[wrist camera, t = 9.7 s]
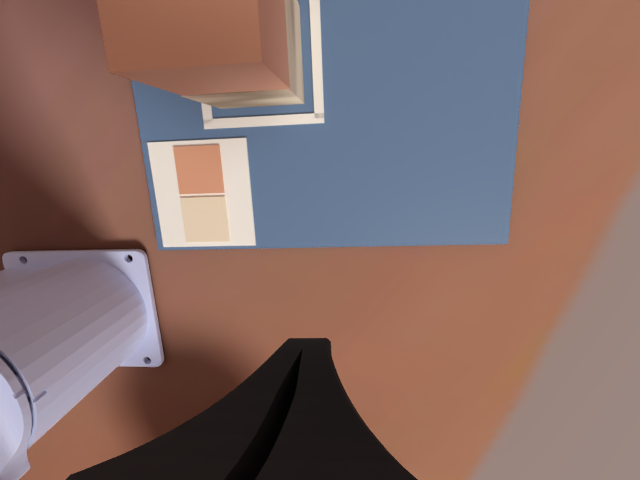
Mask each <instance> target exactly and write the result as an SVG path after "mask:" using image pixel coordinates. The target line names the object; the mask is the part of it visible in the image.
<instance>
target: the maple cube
mask: <svg viewBox="0 0 640 480" xmlns="http://www.w3.org/2000/svg"><path fill="white" fill-rule="evenodd" d="M285 14H286V31H287V47H288V64H289V81H290V89H278V90H262V91H246V92H230V93H214V94H198V95H181V97H184V98H188V99H191V100H194V101H197V102H201V103H204V104H207V105H210V106H214V107H217V108H220V109H225V108H242V107H259V106H277V105H294V104H304V84H303V64H302V45H301V25H300V6H299V3H298V1H297V0H285Z"/></svg>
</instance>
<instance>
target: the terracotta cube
mask: <svg viewBox="0 0 640 480" xmlns="http://www.w3.org/2000/svg"><path fill="white" fill-rule="evenodd" d="M96 1H97V7H98V13H99V18H100V24H101V30H102V36H103V41H104V47H105V53H106V59H107V64H108V70H109V73H111V74H115V75H118V76H121V77H124V78H127V79H131V80H134V81H137V82H140V83H143V84H147V85H150V86H153V87H156V88H159V89H162V90H166V91H169V92H172V93H175V94H178V95H198V94H214V93H230V92H246V91H262V90H278V89H290V81H289V64H288V47H287V31H286V14H285V0H96Z"/></svg>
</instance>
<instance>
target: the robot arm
mask: <svg viewBox="0 0 640 480" xmlns="http://www.w3.org/2000/svg"><path fill="white" fill-rule="evenodd" d="M128 255H131V256H132V258H133V260H130V259H129V257H128ZM25 258H26V259H27V261H26V259H25ZM2 261H3V265H4V270H1V271H0V480H19V479H20V478H21V477H22V476H23V475H24V474H25V473H26V472H27V471H28V470H29V469H30V464H29V461H28V458H27V450H28V449H29V448H30V447H31V446H32V445H33V444H34V443H35V442H36V441H37V440H38V439H39V438H41V437H42V436H43V435H44V434H45V433H46V432H47V431H48V430H49V429H50V428H51V427H52V426H54V425H55V424H56V423H57V422H58V421H59V420H60V419H61V418H62V417H63V416H64V415H65V414H67V413H68V412H69V411H70V410H71V409H72V408H73V407H74V406H75V405H76V404H77V403H78V402H80V401H81V400H82V399H83V398H84V397H85V396H86V395H87V394H88V393H89V392H90V391H91V390H93V389H94V388H95V387H96V386H97V385H98V384H99V383H100V382H101V381H102V380H103V379H104V378H106V377H107V376H108V375H109V374H110V373H111V372H112V371H113V370H114V369H115V368H116V367H117V366H126V367H159V366H160V365H161V364H162V363H163V362H164V353H163V347H162V341H161V335H160V329H159V323H158V317H157V311H156V305H155V299H154V294H153V288H152V282H151V276H150V270H149V264H148V258H147V255H146V253H145V252H144V251H143V250H141V249H109V250H54V251H11V252H7V253H5V254H3V256H2ZM147 357H149V358H150V360H151V361H150V360H148V359H147ZM66 480H417V479H416V478H415V477H414V476H413V475H412V474H410V473H409V472H408V471H407V470H406V469H405V468H404V467H403V466H402V465H401V464H400V463H399V462H398V461H397V460H396V459H395V458H394V457H393V456H392V455H391V454H390V453H389V452H388V451H387V450H386V449H385V447H384V446H383V445H382V444H381V443H380V441H379V440H378V439H377V438H376V437H375V435H374V434H373V433H372V432H371V431H370V429H369V428H368V427H367V425H366V424H365V422H364V421H363V420H362V418H361V417H360V415H359V414H358V412H357V411H356V409H355V407H354V406H353V404H352V403H351V401H350V399H349V397H348V395H347V393H346V391H345V389H344V387H343V385H342V383H341V381H340V379H339V376H338V374H337V371H336V369H335V366H334V363H333V360H332V356H331V342H330V341H329V340H328V339H327V338H289V339H288V340H287V341H286V342H285V343H284V344H283V345H282V346H281V347H280V348H279V349H278V350H277V351H276V352H275V353H274V354H273V355H272V356H271V357H270V358H269V359H268V360H267V361H266V362H265V363H264V364H262V365H261V366H260V367H259V368H258V369H257V370H256V371H255V372H254V373H253V374H252V375H251V376H249V377H248V378H247V379H246V380H245V381H244V382H242V383H241V384H240V385H239V386H238V387H237V388H235V389H234V390H233V391H232V392H230V393H229V394H228V395H226V396H225V397H224V398H222V399H221V400H220V401H218V402H217V403H215V404H214V405H212V406H211V407H209V408H208V409H207V410H205V411H203V412H202V413H200V414H199V415H197V416H195V417H194V418H192V419H190V420H188V421H187V422H185V423H183V424H182V425H180V426H178V427H177V428H175V429H173V430H171V431H170V432H168V433H166V434H164V435H162V436H160V437H158V438H156V439H154V440H152V441H150V442H148V443H146V444H144V445H142V446H140V447H138V448H135V449H133V450H131V451H129V452H127V453H124V454H122V455H120V456H117V457H115V458H112V459H110V460H107V461H105V462H102V463H100V464H97V465H95V466H92V467H90V468H87V469H85V470H82V471H80V472H77V473H74V474H71V475H70V476H69V477H68V478H67V479H66Z"/></svg>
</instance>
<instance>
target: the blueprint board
mask: <svg viewBox="0 0 640 480" xmlns="http://www.w3.org/2000/svg"><path fill="white" fill-rule="evenodd" d="M297 1H298V3H299V6H300V25H301V45H302V64H303V84H304V104H294V105H277V106H259V107H242V108H225V109H220V108H217V107H214V106H210V105H207V104H204V103H201V102H197V101H194V100H191V99H188V98H184V97H181V95H178V94H175V93H172V92H169V91H166V90H162V89H159V88H156V87H153V86H150V85H147V84H143V83H140V82H137V81H134V80H131V82H132V88H133V94H134V100H135V107H136V113H137V119H138V125H139V132H140V138H141V144H142V150H143V157H144V163H145V169H146V175H147V182H148V188H149V194H150V200H151V207H152V213H153V219H154V225H155V232H156V238H157V244H158V250H193V249H250V248H306V247H362V246H418V245H474V244H508V236H509V225H510V214H511V203H512V191H513V180H514V169H515V158H516V146H517V135H518V124H519V113H520V102H521V90H522V79H523V68H524V57H525V45H526V34H527V23H528V12H529V0H297Z"/></svg>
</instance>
